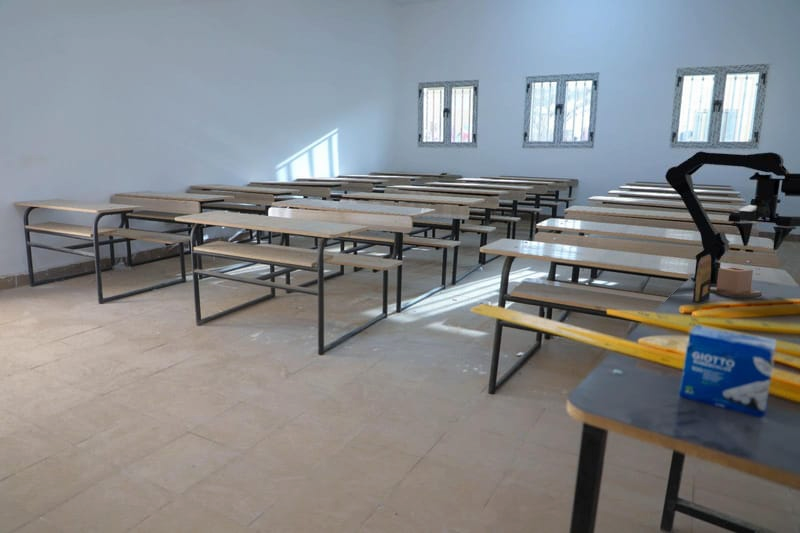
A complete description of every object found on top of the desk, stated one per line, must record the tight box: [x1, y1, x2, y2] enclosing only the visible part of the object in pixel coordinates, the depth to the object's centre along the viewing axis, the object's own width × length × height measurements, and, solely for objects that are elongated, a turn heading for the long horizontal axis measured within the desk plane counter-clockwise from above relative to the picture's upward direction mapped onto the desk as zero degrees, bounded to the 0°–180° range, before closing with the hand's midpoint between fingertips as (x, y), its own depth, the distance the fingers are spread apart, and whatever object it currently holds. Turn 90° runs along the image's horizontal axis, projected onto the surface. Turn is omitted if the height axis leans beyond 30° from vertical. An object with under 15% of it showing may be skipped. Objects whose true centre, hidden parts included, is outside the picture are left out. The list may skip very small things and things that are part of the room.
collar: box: [716, 266, 754, 293], centre depth 157 cm, size 6×6×6 cm
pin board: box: [710, 286, 763, 299], centre depth 157 cm, size 10×10×5 cm
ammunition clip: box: [692, 254, 712, 304], centre depth 148 cm, size 11×2×12 cm, turn 139°
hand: (759, 247), depth 165 cm, fingers open, 9 cm apart
